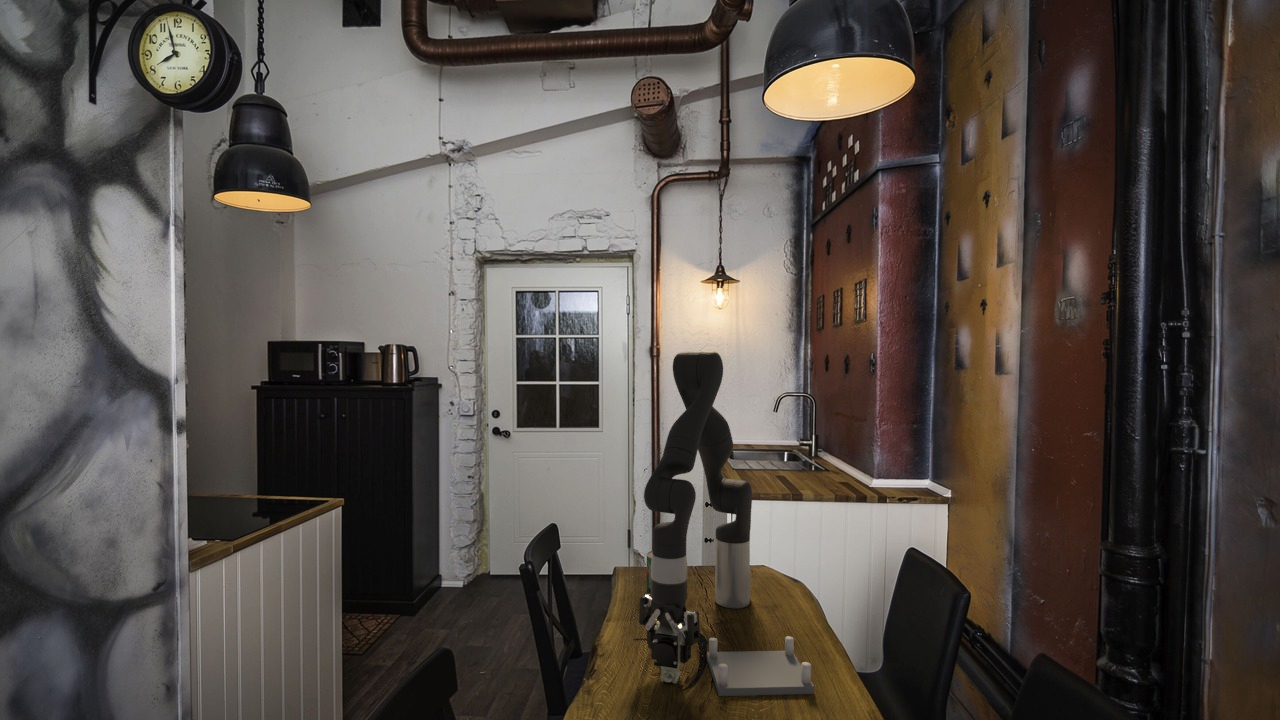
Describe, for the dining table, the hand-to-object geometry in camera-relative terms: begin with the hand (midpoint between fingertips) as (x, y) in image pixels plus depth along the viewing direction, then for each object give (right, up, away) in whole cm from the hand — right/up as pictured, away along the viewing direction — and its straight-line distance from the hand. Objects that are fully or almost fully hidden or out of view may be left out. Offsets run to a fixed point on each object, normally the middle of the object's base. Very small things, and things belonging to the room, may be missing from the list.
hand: (668, 654), depth 118 cm
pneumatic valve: (0, -5, 0) cm, 5 cm away
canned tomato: (0, -5, +43) cm, 44 cm away
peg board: (+19, -5, +1) cm, 20 cm away
